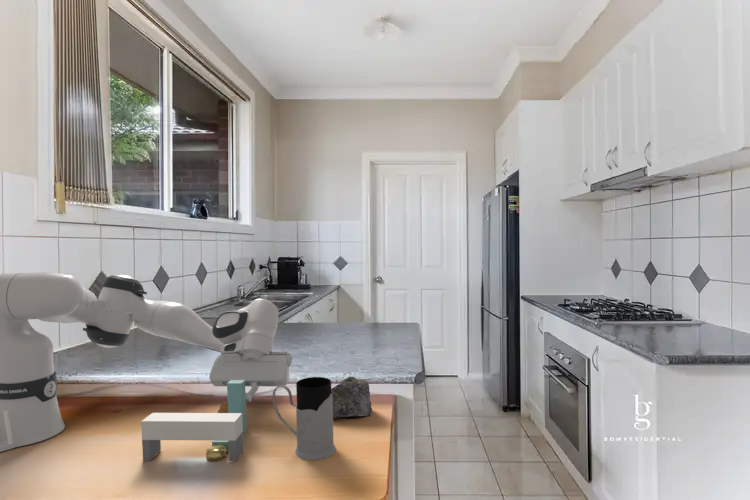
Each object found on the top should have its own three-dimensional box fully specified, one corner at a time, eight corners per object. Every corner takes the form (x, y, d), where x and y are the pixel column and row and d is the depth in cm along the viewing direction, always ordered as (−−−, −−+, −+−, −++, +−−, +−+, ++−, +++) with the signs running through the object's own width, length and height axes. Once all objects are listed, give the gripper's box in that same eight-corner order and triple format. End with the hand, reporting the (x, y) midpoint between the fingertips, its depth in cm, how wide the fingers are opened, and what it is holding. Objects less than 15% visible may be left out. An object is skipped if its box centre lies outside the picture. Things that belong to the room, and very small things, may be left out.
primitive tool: (221, 405, 132) (221, 392, 132) (242, 404, 132) (241, 391, 132) (205, 435, 113) (205, 420, 113) (229, 433, 113) (228, 419, 113)
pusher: (212, 450, 104) (210, 396, 103) (231, 428, 115) (229, 379, 114) (230, 451, 103) (228, 396, 103) (247, 428, 115) (246, 379, 114)
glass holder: (326, 462, 97) (325, 390, 97) (264, 454, 101) (262, 385, 101) (341, 443, 106) (339, 377, 105) (283, 437, 110) (281, 373, 109)
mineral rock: (314, 420, 119) (313, 381, 119) (331, 404, 130) (330, 368, 129) (363, 425, 116) (362, 385, 115) (376, 409, 126) (375, 371, 125)
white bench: (143, 460, 100) (141, 421, 99) (154, 450, 104) (152, 412, 104) (236, 461, 98) (234, 421, 98) (243, 451, 103) (242, 413, 103)
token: (203, 462, 99) (202, 454, 99) (211, 453, 103) (210, 445, 103) (222, 462, 99) (221, 454, 99) (229, 453, 103) (228, 445, 103)
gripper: (295, 357, 130) (287, 406, 120) (222, 358, 131) (208, 406, 121) (291, 345, 125) (282, 395, 116) (215, 346, 126) (200, 395, 117)
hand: (244, 401), depth 119 cm, fingers closed
